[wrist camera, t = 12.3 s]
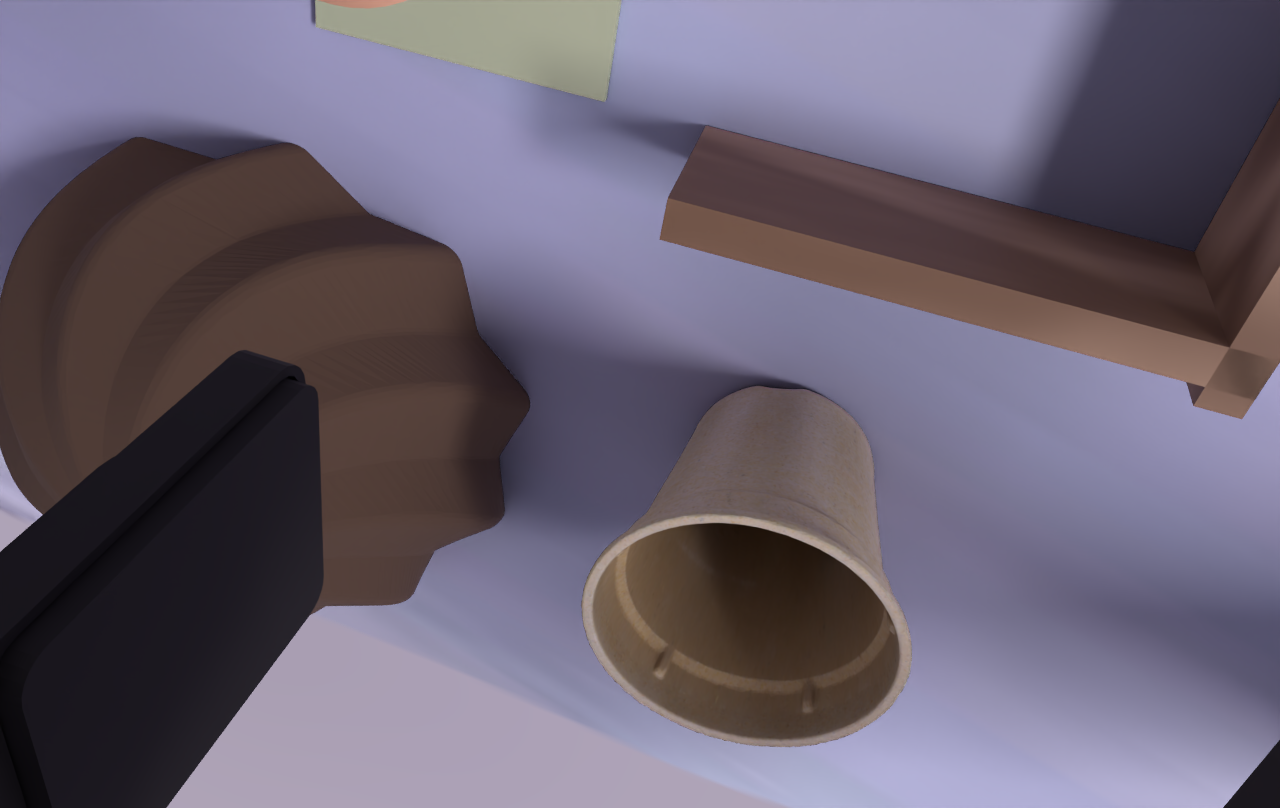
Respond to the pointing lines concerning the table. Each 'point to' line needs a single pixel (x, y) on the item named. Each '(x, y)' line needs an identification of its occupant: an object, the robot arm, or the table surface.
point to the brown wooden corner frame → (1007, 259)
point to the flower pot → (756, 581)
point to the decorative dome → (258, 344)
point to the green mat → (497, 36)
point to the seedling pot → (363, 3)
